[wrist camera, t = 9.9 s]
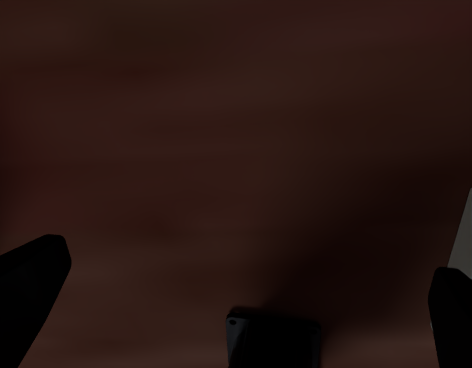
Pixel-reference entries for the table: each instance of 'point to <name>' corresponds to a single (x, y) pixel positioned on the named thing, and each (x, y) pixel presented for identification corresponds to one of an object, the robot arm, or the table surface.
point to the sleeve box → (463, 243)
